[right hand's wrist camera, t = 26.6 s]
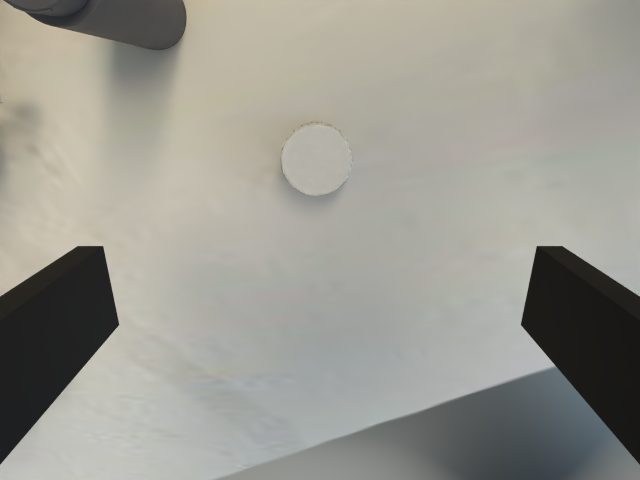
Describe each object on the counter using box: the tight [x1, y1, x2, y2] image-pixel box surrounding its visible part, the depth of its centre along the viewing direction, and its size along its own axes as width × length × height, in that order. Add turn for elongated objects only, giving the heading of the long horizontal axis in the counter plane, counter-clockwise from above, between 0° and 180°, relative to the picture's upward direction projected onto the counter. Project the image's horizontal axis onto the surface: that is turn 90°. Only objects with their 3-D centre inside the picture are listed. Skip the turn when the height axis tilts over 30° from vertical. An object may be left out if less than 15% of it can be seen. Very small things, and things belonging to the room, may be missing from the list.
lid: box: [281, 122, 352, 195], centre depth 36 cm, size 6×6×2 cm
